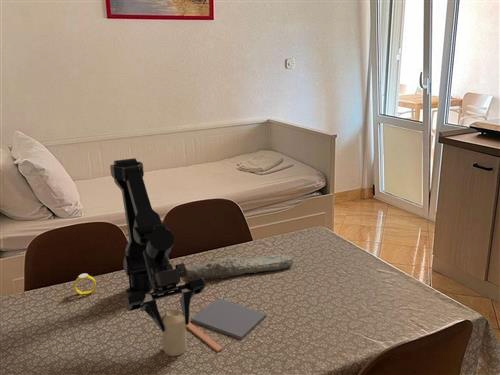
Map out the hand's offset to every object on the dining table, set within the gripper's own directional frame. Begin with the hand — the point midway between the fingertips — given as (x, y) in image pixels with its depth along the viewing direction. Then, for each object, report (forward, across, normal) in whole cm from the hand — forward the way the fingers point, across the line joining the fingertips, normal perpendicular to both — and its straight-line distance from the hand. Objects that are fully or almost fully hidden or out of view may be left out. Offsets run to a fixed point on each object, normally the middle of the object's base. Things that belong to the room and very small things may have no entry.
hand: (175, 328), depth 111 cm
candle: (+4, 0, +6) cm, 7 cm away
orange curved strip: (+2, +7, +8) cm, 11 cm away
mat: (0, +17, +10) cm, 19 cm away
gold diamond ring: (-23, -15, +33) cm, 43 cm away
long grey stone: (-17, +32, +27) cm, 45 cm away
